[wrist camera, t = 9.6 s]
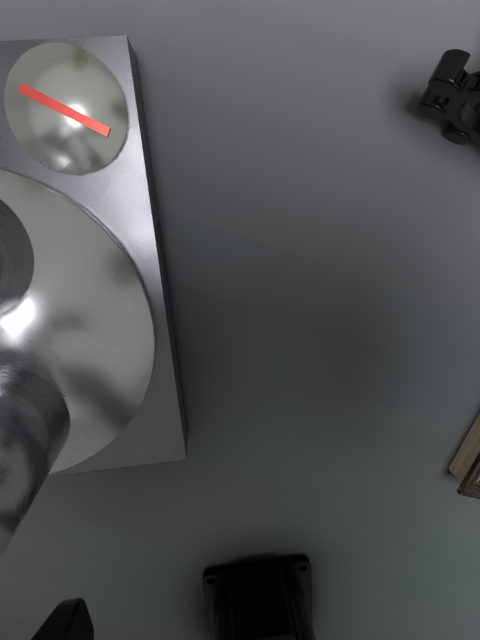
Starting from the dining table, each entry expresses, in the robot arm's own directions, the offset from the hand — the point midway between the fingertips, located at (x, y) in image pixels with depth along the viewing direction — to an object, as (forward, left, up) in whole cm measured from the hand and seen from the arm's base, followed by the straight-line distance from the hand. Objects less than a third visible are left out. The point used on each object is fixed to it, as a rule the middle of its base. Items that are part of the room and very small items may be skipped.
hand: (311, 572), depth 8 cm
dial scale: (+4, +10, -12) cm, 16 cm away
